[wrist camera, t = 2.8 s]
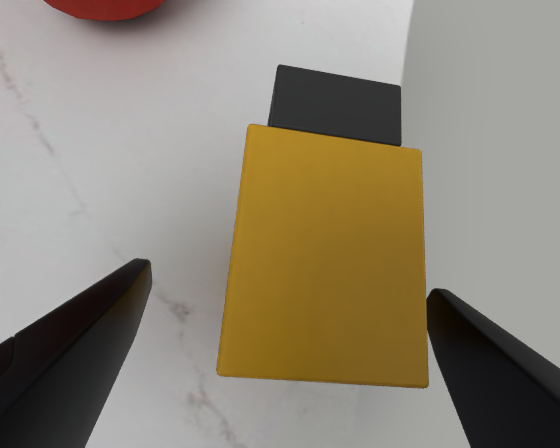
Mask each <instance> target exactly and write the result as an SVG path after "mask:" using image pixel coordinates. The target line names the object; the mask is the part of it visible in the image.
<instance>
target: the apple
mask: <svg viewBox="0 0 560 448" xmlns="http://www.w3.org/2000/svg"><path fill="white" fill-rule="evenodd" d="M44 1H45V2H46V3H48V4H49V5H50V6H52V7H53V8H56V9H58V10H60V11H62V12H65V13H67V14H69V15H71V16H74V17H76V18H81V19H91V20H101V21H119V20H125V19H131V18H135V17H137V16H139V15H142V14H144V13H146V12H149V11H151V10H154V9H156V8H157V7H158V6H159V5H160V4H161V3H163V2H164V1H165V0H44Z"/></svg>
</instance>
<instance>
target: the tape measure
mask: <svg viewBox="0 0 560 448" xmlns="http://www.w3.org/2000/svg"><path fill="white" fill-rule="evenodd" d="M400 146H401V87H400V86H398V85H393V84H387V83H382V82H376V81H370V80H365V79H359V78H353V77H348V76H342V75H337V74H331V73H325V72H320V71H314V70H309V69H303V68H297V67H292V66H286V65H278V67H277V72H276V78H275V83H274V89H273V95H272V101H271V107H270V113H269V119H268V125H267V126H263V125H256V124H250V125H249V126H248V128H247V134H246V142H245V150H244V158H243V165H242V173H241V181H240V189H239V197H238V204H237V212H236V220H235V228H234V235H233V243H232V251H231V259H230V266H229V274H228V282H227V290H226V297H225V305H224V313H223V321H222V329H221V336H220V344H219V352H218V360H217V367H216V371H217V374H218V375H220V376H224V377H241V378H257V379H274V380H291V381H307V382H324V383H340V384H357V385H373V386H374V385H375V386H391V387H407V388H427V387H428V385H429V379H428V378H429V377H428V347H427V346H428V344H427V312H426V282H425V281H426V279H425V248H424V216H423V215H424V214H423V182H422V153H421V151H420V150H418V149H412V148H405V147H400Z"/></svg>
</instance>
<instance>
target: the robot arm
mask: <svg viewBox="0 0 560 448" xmlns="http://www.w3.org/2000/svg"><path fill="white" fill-rule="evenodd" d="M151 287H152V271H151V263H150V261H149V260H148V259H138V258H136V259H133V260H131V261H130V262H128V263H127V264H125V265H124V266H122V267H120V268H119V269H117V270H116V271H114V272H113V273H111V274H109V275H108V276H106V277H105V278H103V279H102V280H100V281H98V282H97V283H95V284H94V285H92V286H90V287H89V288H87V289H86V290H84V291H83V292H81V293H79V294H78V295H76V296H75V297H73V298H72V299H70V300H68V301H67V302H65V303H64V304H62V305H61V306H59V307H57V308H56V309H54V310H53V311H51V312H49V313H48V314H46V315H45V316H43V317H42V318H40V319H38V320H37V321H35V322H34V323H32V324H31V325H29V326H27V327H26V328H24V329H23V330H21V331H19V332H18V333H16V334H15V336H14V337H10V338H8V339H7V340H5V341H4V342H2V343H0V448H85V446H86V444H87V441H88V439H89V437H90V435H91V433H92V431H93V428H94V426H95V424H96V422H97V420H98V417H99V415H100V413H101V411H102V409H103V406H104V404H105V402H106V400H107V398H108V395H109V393H110V391H111V389H112V387H113V385H114V382H115V380H116V378H117V376H118V374H119V371H120V369H121V367H122V365H123V363H124V360H125V358H126V356H127V354H128V352H129V349H130V347H131V345H132V343H133V341H134V338H135V336H136V333H137V330H138V327H139V324H140V321H141V318H142V315H143V312H144V309H145V306H146V303H147V300H148V297H149V293H150V290H151ZM426 312H427V330H428V334H429V337H430V341H431V344H432V348H433V351H434V354H435V357H436V360H437V363H438V366H439V368H440V370H441V373H442V376H443V378H444V381H445V383H446V386H447V388H448V391H449V393H450V396H451V398H452V401H453V404H454V406H455V409H456V411H457V414H458V416H459V419H460V421H461V424H462V426H463V429H464V431H465V434H466V437H467V439H468V442H469V444H470V447H471V448H560V368H558V367H557V366H556V365H554V364H553V363H551V362H550V361H548V360H547V359H545V358H544V357H543V356H541V355H540V354H538V353H537V352H535V351H534V350H533V349H531V348H530V347H528V346H527V345H526V344H524V343H523V342H521V341H520V340H518V339H517V338H516V337H514V336H513V335H511V334H510V333H508V332H507V331H506V330H504V329H502V328H501V327H500V326H498V325H497V324H496V323H494V322H493V321H491V320H489V319H488V318H487V317H486V316H484V315H483V314H481V313H480V312H478V311H477V310H476V309H474V308H472V307H471V306H470V305H468V304H467V303H465V302H464V301H463V300H461V299H460V298H458V297H457V296H456V295H454V294H453V293H451V292H450V291H448V290H446V289H439V288H435V289H433V290H432V291H431V292H430V294H429V296H428V297H427V299H426Z"/></svg>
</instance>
